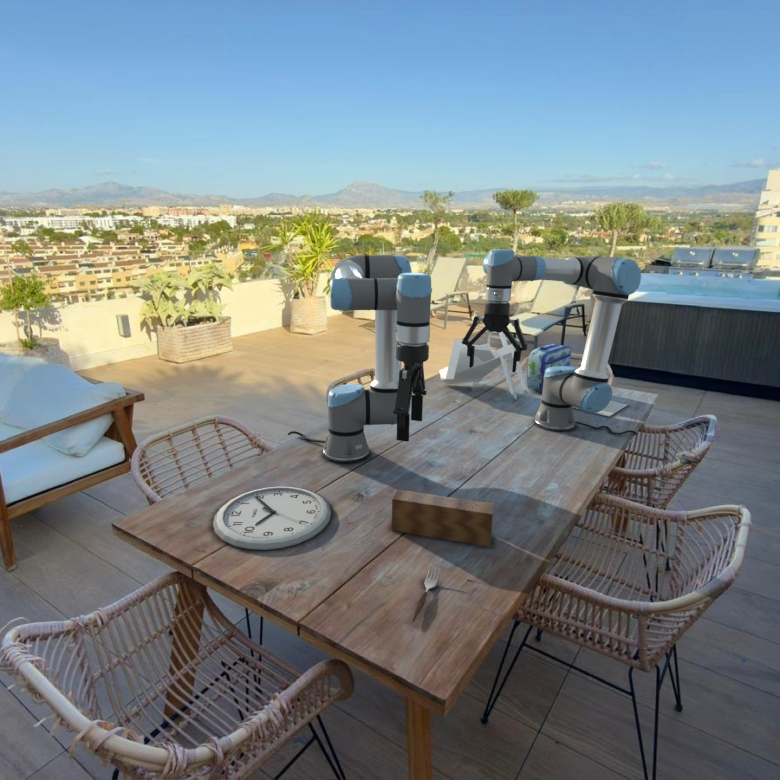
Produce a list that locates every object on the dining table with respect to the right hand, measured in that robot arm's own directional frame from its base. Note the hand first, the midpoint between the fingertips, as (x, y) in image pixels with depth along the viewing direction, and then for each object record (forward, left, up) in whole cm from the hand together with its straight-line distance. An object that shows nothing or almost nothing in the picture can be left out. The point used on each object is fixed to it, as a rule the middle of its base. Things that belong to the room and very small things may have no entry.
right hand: (492, 369), depth 166 cm
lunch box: (-34, -84, -30) cm, 96 cm away
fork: (+16, +73, -30) cm, 81 cm away
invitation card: (-53, -60, -30) cm, 86 cm away
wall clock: (+57, +47, -30) cm, 80 cm away
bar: (+13, +48, -30) cm, 59 cm away
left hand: (+22, +47, -4) cm, 52 cm away
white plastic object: (-1, -72, -30) cm, 78 cm away
